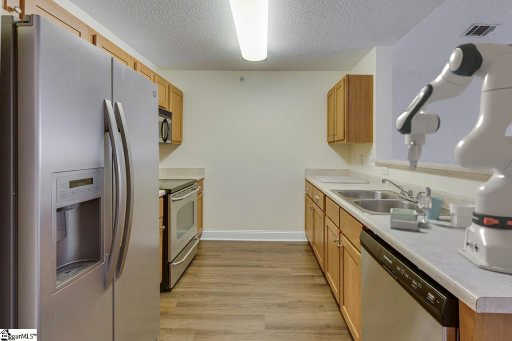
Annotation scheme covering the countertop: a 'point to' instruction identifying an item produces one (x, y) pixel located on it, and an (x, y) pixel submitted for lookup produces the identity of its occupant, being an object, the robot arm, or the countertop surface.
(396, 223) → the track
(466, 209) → the cup
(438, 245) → the countertop surface
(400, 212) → the grey green box
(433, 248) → the countertop surface
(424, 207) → the wineglass
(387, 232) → the countertop surface
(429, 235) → the countertop surface
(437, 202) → the cup
